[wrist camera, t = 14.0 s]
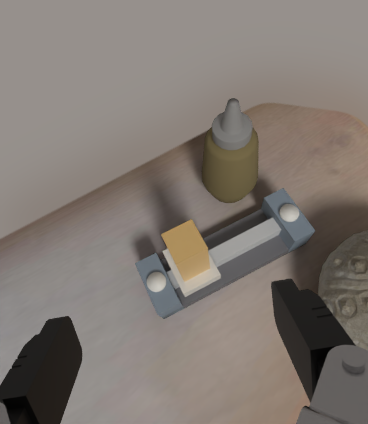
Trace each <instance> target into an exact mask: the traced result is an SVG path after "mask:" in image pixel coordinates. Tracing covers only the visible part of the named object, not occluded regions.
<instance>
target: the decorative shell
mask: <svg viewBox="0 0 368 424" xmlns="http://www.w3.org/2000/svg"><path fill="white" fill-rule="evenodd" d="M318 296H320V297H321V299H322V300H323V301H324V303H325V304H326V305H327V308H329V309H330V311H331V312H332V314H333V316H335V318H336V319H337V320H338V322H339V323H340V324H341V326H342V327H343V329H344V330H345V331H346V333H347V334H348V335H349V337H350V338H351V339H352V341H353V342H354V343H355V345H356V346H358V347H361V348H363V349H366V350H367V351H368V230H365V231H362V232H360V233H354V234H353V235H352V236H351V237H349V238H347V239H346V240H345V241H343V242H342V243H341V244H340V245H339V246H338V247H337V248H336V250H335V251H333V252H331V253H330V255H329V256H328V258H327V260H326V262H325V263H324V264H323V265H322V271H321V273H320V275H319V287H318Z"/></svg>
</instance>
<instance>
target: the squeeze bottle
mask: <svg viewBox="0 0 368 424" xmlns="http://www.w3.org/2000/svg"><path fill="white" fill-rule="evenodd" d="M257 179H258V136H257V133H256V131H255V130H254V128H253V127H252V121H251V120H250V118H249V117H248V116H247V115H245V114H244V113H242V112H241V110H240V105H239V101H238V100H237V99H235V98H232V99H230V100H229V101H228V103H227V106H226V109H225V112H223V113H221V114H219V115H218V116H217V117H216V118H215V119H214V121H213V124H212V127H211V128H210V129H209V130H208V132H207V134H206V137H205V143H204V154H203V165H202V181H203V183H204V185H205V187H206V189H207V190H208V191H209V192H210V193H211V194H212V195H213V196H214V197H215V198H216V199H218V200H219V201H221V202H225V203H235V202H237V201H239V200H241V199H242V198H244V197H245V196H246V195H247V194H248V193H249V192H250V191H251V190H252V189H253V188H254V187H255V185H256V182H257Z"/></svg>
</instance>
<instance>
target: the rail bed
mask: <svg viewBox="0 0 368 424" xmlns="http://www.w3.org/2000/svg"><path fill="white" fill-rule="evenodd" d="M314 232H315V229H314V228H313V227H312V225H311V224H310V223H309V221H308V220H307V219H306V217H305V216H304V215H303V213H302V212H301V211H300V209H299V208H298V207H297V206H296V204H295V203H294V202H293V200H292V199H291V198H290V196H289V195H288V194H287V192H286V191H285V190H284V188H282V189H280V190H278V191H276V192H274V193H272V194H271V195H269V196H267V197H265V198H264V200H263V203H262V207H261V209H260V210H258V211H256V212H254V213H252V214H250V215H248V216H246V217H244V218H242V219H240V220H238V221H236V222H234V223H232V224H230V225H229V226H227V227H225V228H223V229H221V230H219V231H217V232H215V233H213V234H211V235H209V236H207V237H205V238H203V240H204V242H205V244H206V246H207V247H208V253H209V255H210V256H211V258H212V260H213V262H214V264H215V265H216V267H217V269H218V271H219V272H220V274H221V279H219V280H217V281H215V282H213V283H211V284H209V285H207V286H205V287H204V288H202V289H200V290H198V291H196V292H194V293H192V294H190V295H188V296H187V297H185V296H184V294H183V292H182V290H181V288H180V286H179V284H178V282H177V280H176V278H175V276H174V274H173V272H172V270H171V268H170V266H169V264H168V262H167V260H166V258H164V259H162V260H160V258H159V256H158V255H157V253H154V254H152V255H151V256H149V257H147V258H145V259H143V260H141V261H139V262H137V263H135V265H136V267H137V269H138V271H139V274H140V276H141V278H142V280H143V283H144V285H145V287H146V290H147V292H148V294H149V296H150V299H151V301H152V303H153V305H154V308H155V310H156V312H157V314H158V315H159V316H160V317H162V318H163V319H165V318H167V317H169V316H171V315H173V314H175V313H176V312H178V311H180V310H182V309H184V308H186V307H188V306H190V305H191V304H193V303H195V302H197V301H199V300H201V299H203V298H205V297H206V296H208V295H210V294H212V293H214V292H216V291H218V290H220V289H221V288H223V287H225V286H227V285H229V284H231V283H233V282H235V281H236V280H238V279H240V278H242V277H244V276H246V275H248V274H250V273H251V272H253V271H255V270H257V269H259V268H261V267H263V266H265V265H266V264H268V263H270V262H272V261H274V260H276V259H278V258H280V257H281V256H283V255H285V254H287V253H289V252H291V251H293V250H295V249H296V248H298V247H300V246H302V245H304V244H306V242H307V241H308V240H309V239H310V237H311V236H312V235H313V233H314Z"/></svg>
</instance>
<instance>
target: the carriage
mask: <svg viewBox="0 0 368 424" xmlns="http://www.w3.org/2000/svg"><path fill="white" fill-rule="evenodd" d="M161 236H162V238H163V240H164V242H165V244H166V246H167V248H168V249H166V250H164V251H162V252H163V254H164V256H165V258H166V260H167V262H168V264H169V266H170V268H171V270H172V272H173V274H174V276H175V278H176V280H177V282H178V284H179V286H180V288H181V290H182V292H183V294H184V296H185V297H187V296H188V295H190V294H192V293H194V292H196V291H198V290H200V289H202V288H204V287H205V286H207V285H209V284H211V283H213V282H215V281H217V280H219V279H221V274H220V272H219V271H218V269H217V267H216V265H215V264H214V262H213V260H212V258H211V256H210V255H209V253H208V247H207V246H206V244H205V242H204V240H203V238H202V237H201V235H200V233H199V231H198V230H197V228H196V226H195V224H194V222H193V221H192V219H191V220H189V221H187V222H185V223H183V224H181V225H179V226H177V227H175V228H173V229H171V230H169V231H167V232H165V233H163V234H161Z"/></svg>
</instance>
